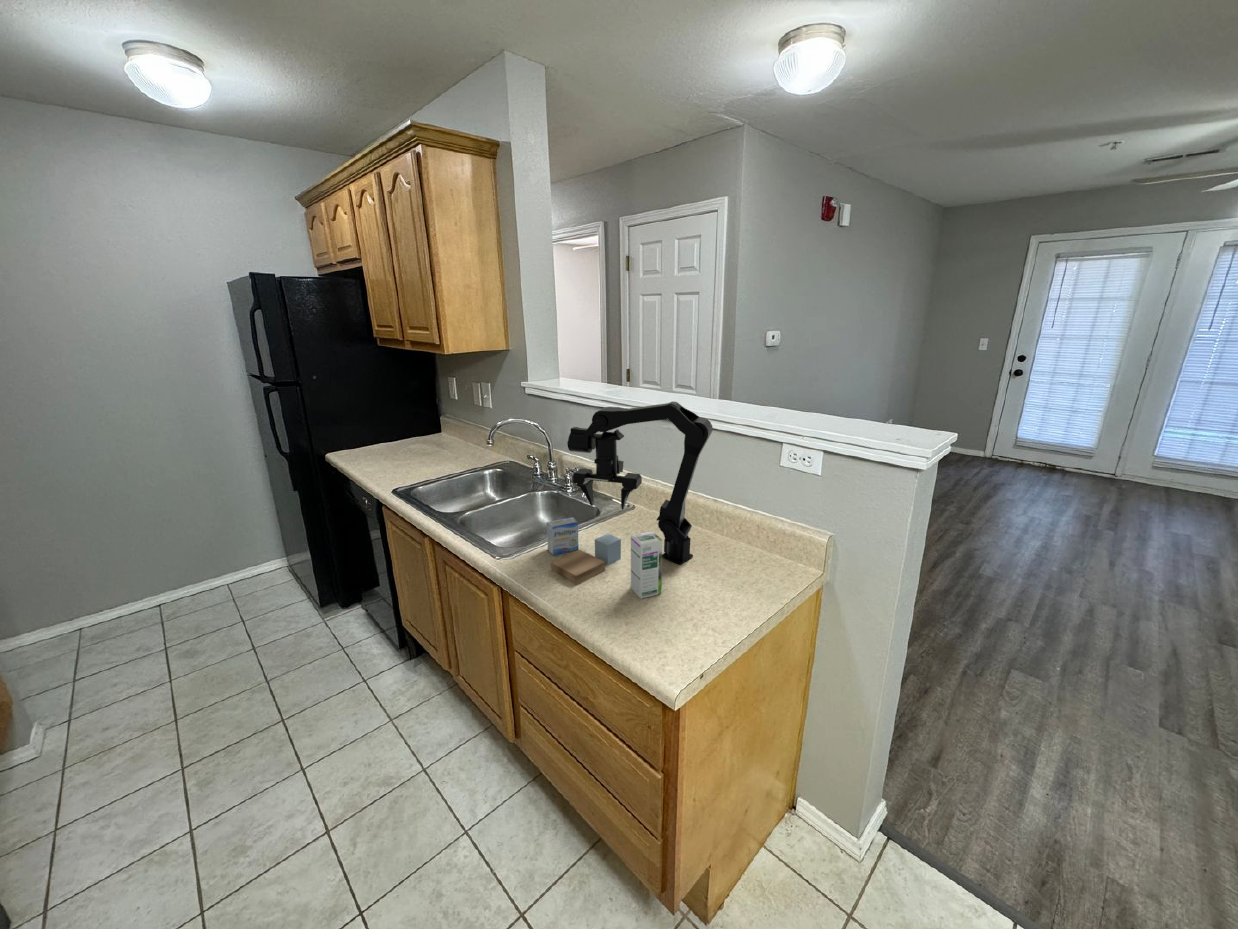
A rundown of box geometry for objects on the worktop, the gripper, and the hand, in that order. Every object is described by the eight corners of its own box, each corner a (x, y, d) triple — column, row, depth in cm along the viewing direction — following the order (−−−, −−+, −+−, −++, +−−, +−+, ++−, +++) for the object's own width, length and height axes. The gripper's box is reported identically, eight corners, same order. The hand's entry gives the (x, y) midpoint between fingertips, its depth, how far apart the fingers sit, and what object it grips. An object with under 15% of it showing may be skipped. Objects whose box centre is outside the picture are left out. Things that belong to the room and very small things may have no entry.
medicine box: (552, 556, 139) (551, 527, 136) (547, 549, 143) (546, 521, 140) (579, 549, 143) (578, 521, 140) (573, 543, 146) (572, 516, 144)
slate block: (620, 559, 138) (620, 539, 136) (607, 565, 134) (607, 545, 132) (607, 553, 141) (607, 533, 139) (595, 559, 138) (594, 539, 136)
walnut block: (605, 572, 132) (605, 561, 131) (576, 586, 125) (576, 575, 124) (579, 559, 138) (579, 549, 137) (551, 572, 131) (550, 562, 130)
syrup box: (640, 599, 119) (641, 544, 114) (629, 587, 124) (630, 533, 119) (661, 594, 121) (663, 539, 116) (650, 582, 126) (651, 529, 122)
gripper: (647, 448, 141) (647, 500, 146) (585, 444, 147) (587, 494, 152) (635, 459, 131) (636, 515, 136) (570, 454, 137) (572, 507, 142)
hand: (607, 507), depth 141 cm, fingers open, 9 cm apart
